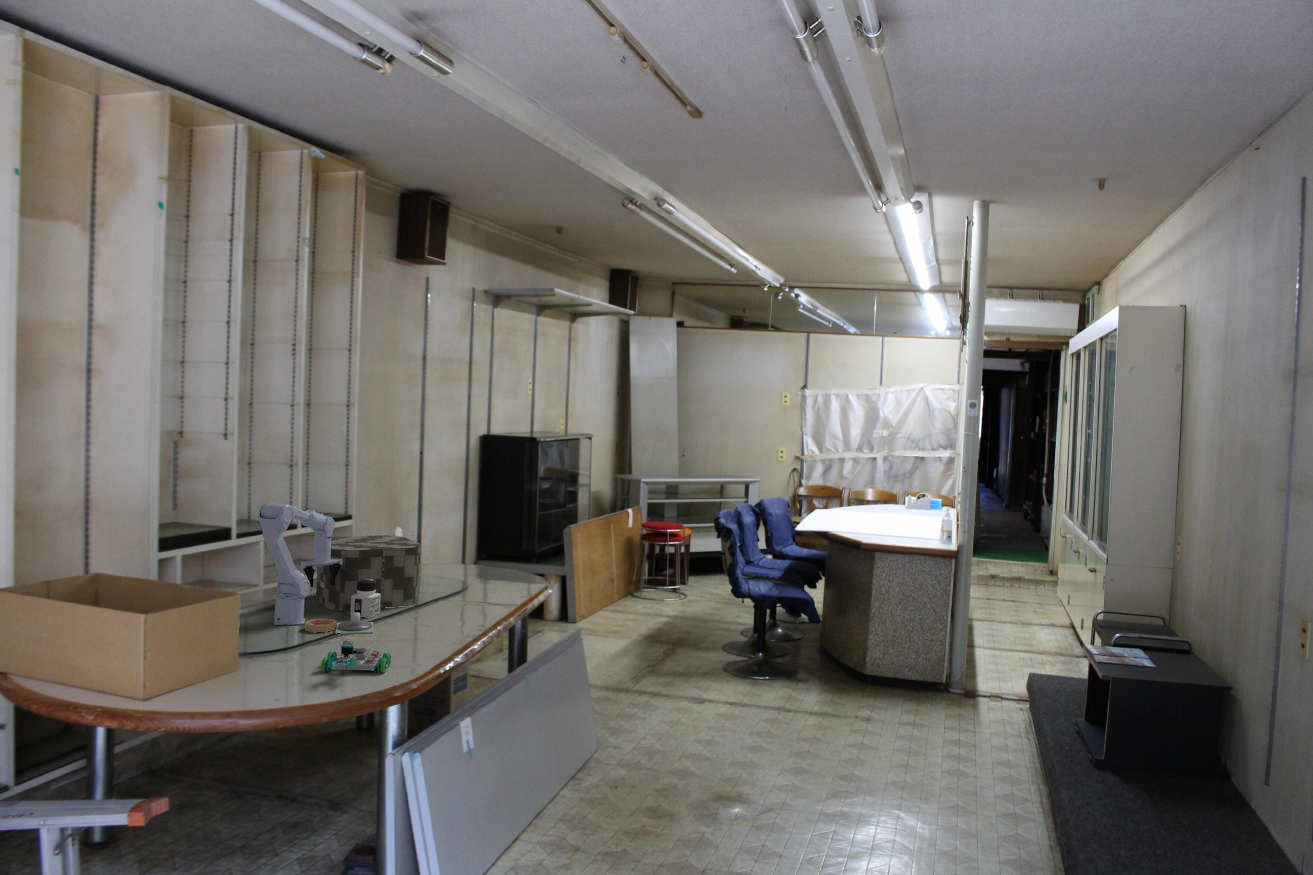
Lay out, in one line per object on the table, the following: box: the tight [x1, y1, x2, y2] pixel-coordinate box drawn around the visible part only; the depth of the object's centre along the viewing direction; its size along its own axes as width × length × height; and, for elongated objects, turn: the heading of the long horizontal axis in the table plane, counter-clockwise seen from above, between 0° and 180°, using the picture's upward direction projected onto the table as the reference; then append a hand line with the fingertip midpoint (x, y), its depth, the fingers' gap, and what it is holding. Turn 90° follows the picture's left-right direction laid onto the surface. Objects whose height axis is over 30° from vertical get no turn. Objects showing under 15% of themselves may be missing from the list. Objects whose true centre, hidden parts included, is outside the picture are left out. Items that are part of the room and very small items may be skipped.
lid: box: [338, 612, 372, 631], centre depth 309 cm, size 11×11×5 cm
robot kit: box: [320, 639, 393, 674], centre depth 259 cm, size 19×25×9 cm
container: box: [350, 579, 381, 619], centre depth 329 cm, size 8×8×13 cm
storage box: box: [315, 534, 422, 612], centre depth 353 cm, size 35×35×23 cm
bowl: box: [304, 618, 337, 634], centre depth 305 cm, size 10×10×2 cm
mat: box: [334, 621, 374, 635], centre depth 309 cm, size 12×14×1 cm
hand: (321, 585), depth 327 cm, fingers open, 7 cm apart
